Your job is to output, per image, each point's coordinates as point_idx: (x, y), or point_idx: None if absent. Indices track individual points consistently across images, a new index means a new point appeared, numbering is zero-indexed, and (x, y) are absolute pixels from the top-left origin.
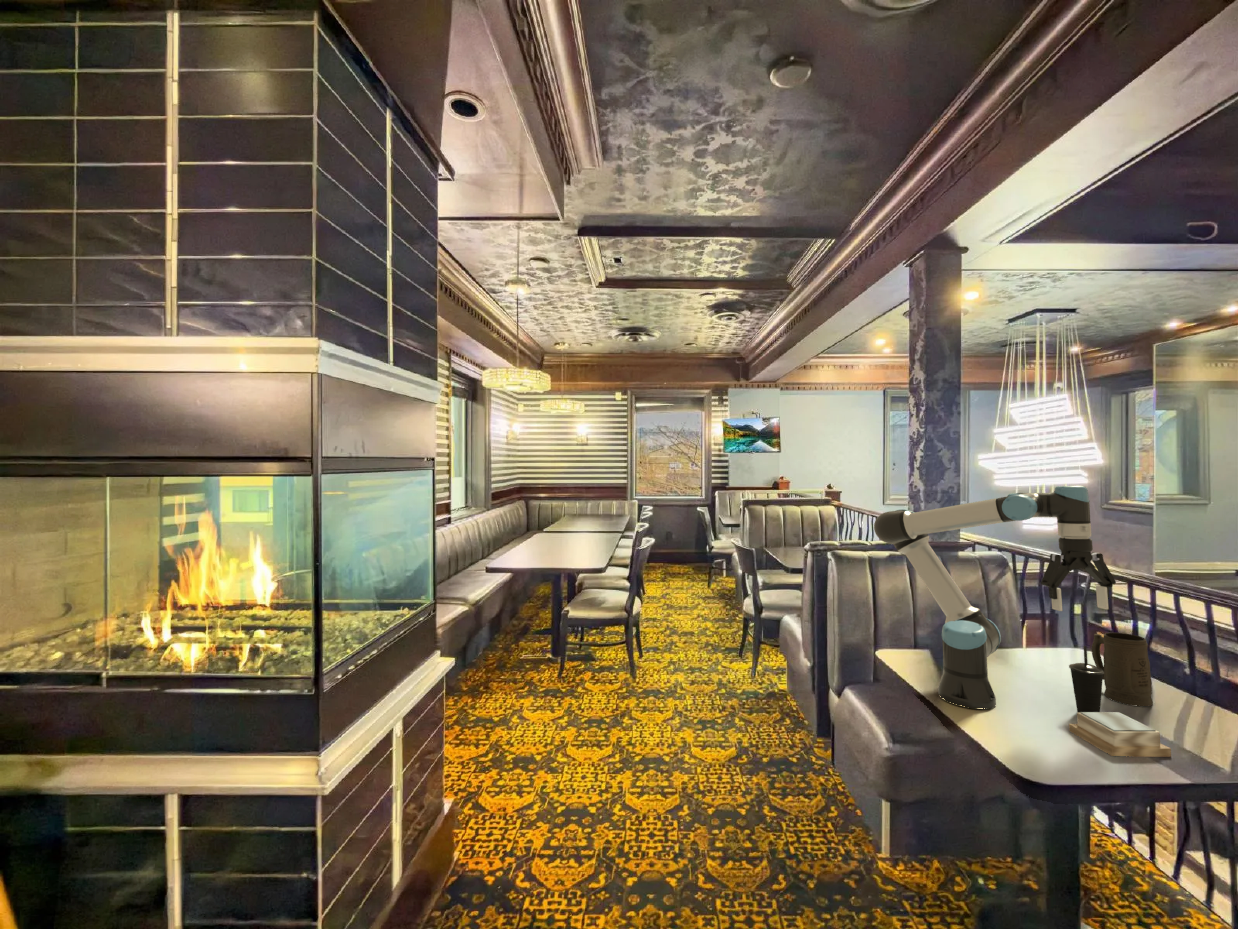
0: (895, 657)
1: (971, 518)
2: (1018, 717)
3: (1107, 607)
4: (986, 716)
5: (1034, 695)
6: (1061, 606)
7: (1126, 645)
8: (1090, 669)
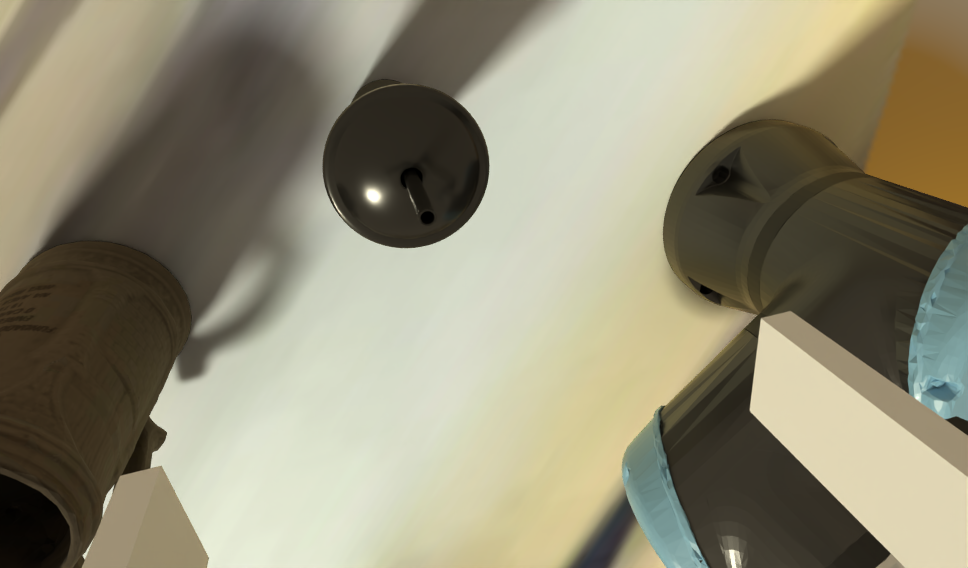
0: None
1: None
2: (675, 66)
3: (126, 494)
4: (782, 63)
5: (475, 293)
6: (811, 347)
7: (2, 426)
8: (423, 115)
